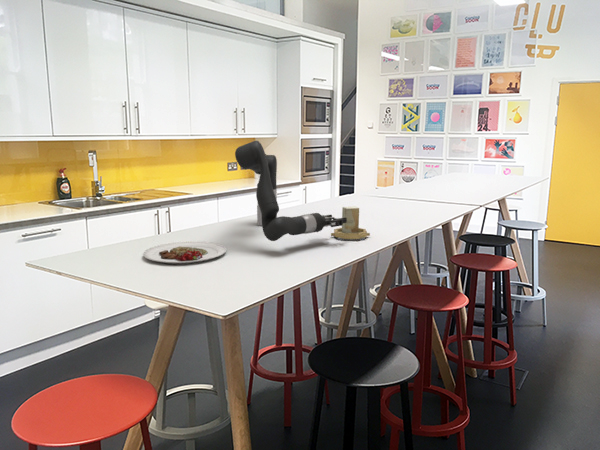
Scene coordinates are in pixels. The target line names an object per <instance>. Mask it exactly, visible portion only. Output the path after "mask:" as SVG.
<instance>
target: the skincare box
mask: <svg viewBox="0 0 600 450" xmlns="http://www.w3.org/2000/svg"><path fill="white" fill-rule="evenodd" d="M341 210H342V211H341V212H342V213H341V218H344V217H346V218H347V222H346V223H343V225H342V226H341V228H342V233H358V229H359V228H360V227H359V225H360V224H359V223H360V207H358V206H342V209H341Z"/></svg>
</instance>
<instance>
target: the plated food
mask: <svg viewBox="0 0 600 450" xmlns="http://www.w3.org/2000/svg"><path fill="white" fill-rule="evenodd" d="M226 252H227V247H225V245H223V244H219V243H216V242H208V241H178V242H171V243H164V244H160V245H156V246H153V247H150V248H148V249H146V250H145V251H143V253H142V255H143V257H144V258H145V259H147V260H150V261H153V262H157V263H164V264H165V263H166V264H192V263H200V262H205V261H209V260H211V259H215V258H218V257H221V256H222V255H224V254H225V253H226Z"/></svg>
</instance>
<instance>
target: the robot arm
mask: <svg viewBox="0 0 600 450" xmlns="http://www.w3.org/2000/svg"><path fill="white" fill-rule="evenodd" d="M234 155H235V156H234V157H235V160H236V162H237V164H238V166H240V168H241V169H243V170H251V171H252V172H254V174H256V175H259V180H258V183H257V185H256V192H255V193H256V202H257V204H256V205H257V206H256V209H257V210H256V215H257V217H256V218H257V224H256V225H257V226H261V228H262V233H263V234H264V236H265V238H266V239H267V240H269V241H270V242H276V241H278V240H280V239H281V238H282V237H284V236H285V235H289V236H299V235H306V234H312V233H313V234H314V233H318V232H321V231H322V230H323V229H324V228H328V227H331V228H335V227H340V226H341V227H342V225H343V223H346V222H347V218H346V217H344V218H342V217H338V218H337V217H336V218H335V217H334V216H333V215H332V214H326V215H325V214H320V213H319V212H313V213H308V214H307V213H306V214H302V215H298V216H291V217H290V216H283V215H282V216H278V213H279V211H280V208H279V203H278V201H277V200H278V199H277V197H278V195H277V193H278V192H277V190H278V189H277V187H278V186H277V172H278V171H277V169H278V166H277V165H278V160H277V157H276V155H275V154H266V152H265V149H264V147H263V145H262V144H261V142H260V141H259V140H253V141H251V142H248V143H245V144H243V145H240V146H238V147H237V148H236V149H235V153H234Z"/></svg>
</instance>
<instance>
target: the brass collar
mask: <svg viewBox="0 0 600 450" xmlns="http://www.w3.org/2000/svg"><path fill="white" fill-rule="evenodd" d="M330 236H331V237H334V238H337V239H338V238H342V239H361V238H368V237H370V236H371V233H370V232H368V231H367V230H366V228H361V227H359V229H358V233H342V227H339V228H338V227H337V228H335V229H333V232H330Z"/></svg>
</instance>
